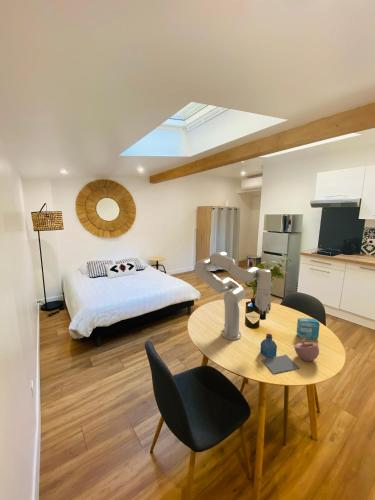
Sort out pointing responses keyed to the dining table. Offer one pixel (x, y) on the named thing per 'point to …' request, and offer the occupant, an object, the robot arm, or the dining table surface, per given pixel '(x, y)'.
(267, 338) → the perfume bottle
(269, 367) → the slate mat
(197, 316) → the dining table surface
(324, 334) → the dining table surface
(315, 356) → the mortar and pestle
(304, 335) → the data package
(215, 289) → the robot arm
